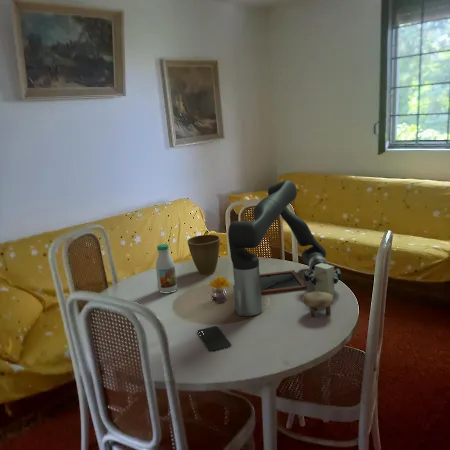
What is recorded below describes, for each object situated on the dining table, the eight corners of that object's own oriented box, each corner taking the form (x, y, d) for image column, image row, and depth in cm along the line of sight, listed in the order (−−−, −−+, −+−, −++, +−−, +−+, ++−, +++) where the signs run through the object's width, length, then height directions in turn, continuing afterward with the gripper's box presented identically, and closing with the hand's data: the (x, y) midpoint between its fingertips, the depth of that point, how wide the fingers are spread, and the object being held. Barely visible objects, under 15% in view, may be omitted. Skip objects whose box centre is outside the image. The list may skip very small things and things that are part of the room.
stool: (310, 321, 148) (310, 305, 147) (299, 310, 158) (299, 294, 156) (338, 317, 150) (338, 300, 149) (326, 305, 160) (325, 289, 158)
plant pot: (194, 267, 214) (190, 235, 210) (224, 266, 211) (222, 233, 208) (187, 278, 199) (183, 244, 195) (220, 277, 197) (217, 242, 193)
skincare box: (314, 295, 169) (313, 265, 166) (322, 292, 172) (321, 262, 169) (327, 300, 164) (326, 269, 161) (335, 296, 167) (334, 265, 164)
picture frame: (245, 298, 174) (307, 290, 176) (244, 293, 173) (307, 285, 175) (238, 280, 193) (294, 273, 195) (237, 276, 193) (294, 269, 195)
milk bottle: (155, 293, 185) (149, 247, 180) (164, 286, 192) (159, 242, 187) (171, 295, 182) (166, 248, 177) (180, 287, 189) (175, 242, 184)
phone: (209, 351, 134) (196, 330, 148) (209, 353, 135) (196, 332, 149) (232, 345, 137) (217, 325, 151) (232, 348, 137) (217, 327, 151)
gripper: (300, 259, 180) (305, 273, 164) (336, 257, 179) (344, 271, 163) (301, 276, 182) (306, 292, 166) (337, 274, 180) (345, 290, 164)
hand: (325, 281), depth 164 cm, fingers closed on skincare box, 7 cm apart
